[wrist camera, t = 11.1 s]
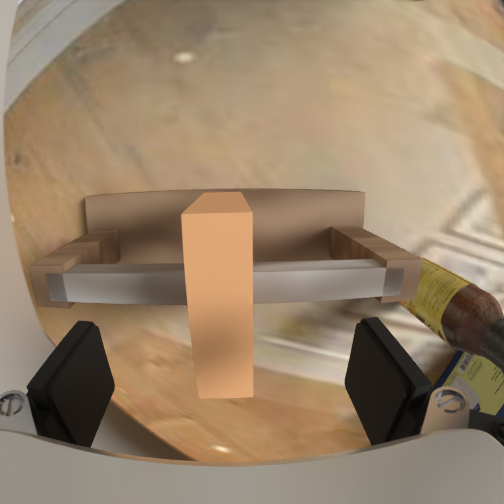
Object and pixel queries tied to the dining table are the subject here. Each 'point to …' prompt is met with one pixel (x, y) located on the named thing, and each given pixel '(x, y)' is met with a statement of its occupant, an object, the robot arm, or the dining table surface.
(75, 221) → the dining table surface
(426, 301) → the sauce bottle
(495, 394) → the protein box
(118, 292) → the rail stand
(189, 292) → the wooden arch block
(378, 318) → the robot arm
